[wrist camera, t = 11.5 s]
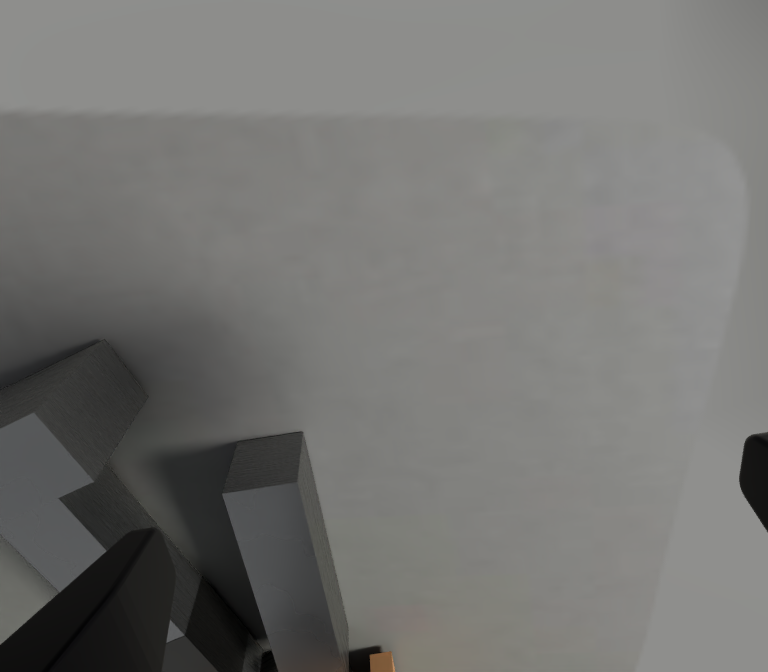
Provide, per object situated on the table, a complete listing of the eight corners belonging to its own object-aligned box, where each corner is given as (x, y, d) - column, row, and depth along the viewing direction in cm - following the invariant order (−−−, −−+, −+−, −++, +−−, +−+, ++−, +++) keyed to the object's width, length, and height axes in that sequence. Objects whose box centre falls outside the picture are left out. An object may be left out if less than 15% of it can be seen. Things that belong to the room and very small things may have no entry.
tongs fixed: (366, 706, 22) (369, 773, 20) (261, 723, 22) (252, 793, 20) (303, 431, 17) (297, 482, 15) (165, 452, 17) (138, 507, 15)
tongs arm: (322, 625, 20) (317, 737, 16) (214, 668, 20) (188, 787, 17) (105, 338, 15) (33, 412, 12) (-29, 404, 16) (-137, 494, 12)
